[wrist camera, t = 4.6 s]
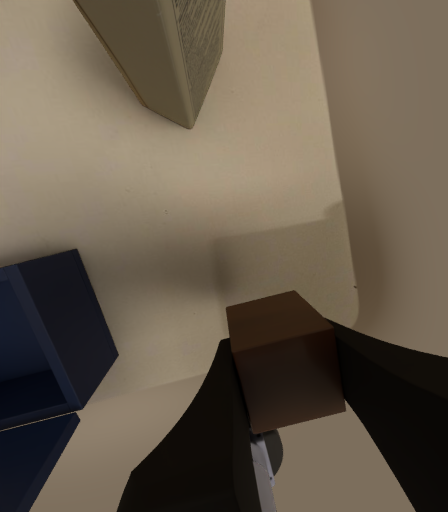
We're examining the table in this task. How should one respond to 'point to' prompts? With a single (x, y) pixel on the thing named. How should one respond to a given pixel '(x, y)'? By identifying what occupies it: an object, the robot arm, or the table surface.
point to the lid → (31, 459)
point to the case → (50, 339)
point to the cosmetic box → (162, 49)
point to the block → (285, 361)
